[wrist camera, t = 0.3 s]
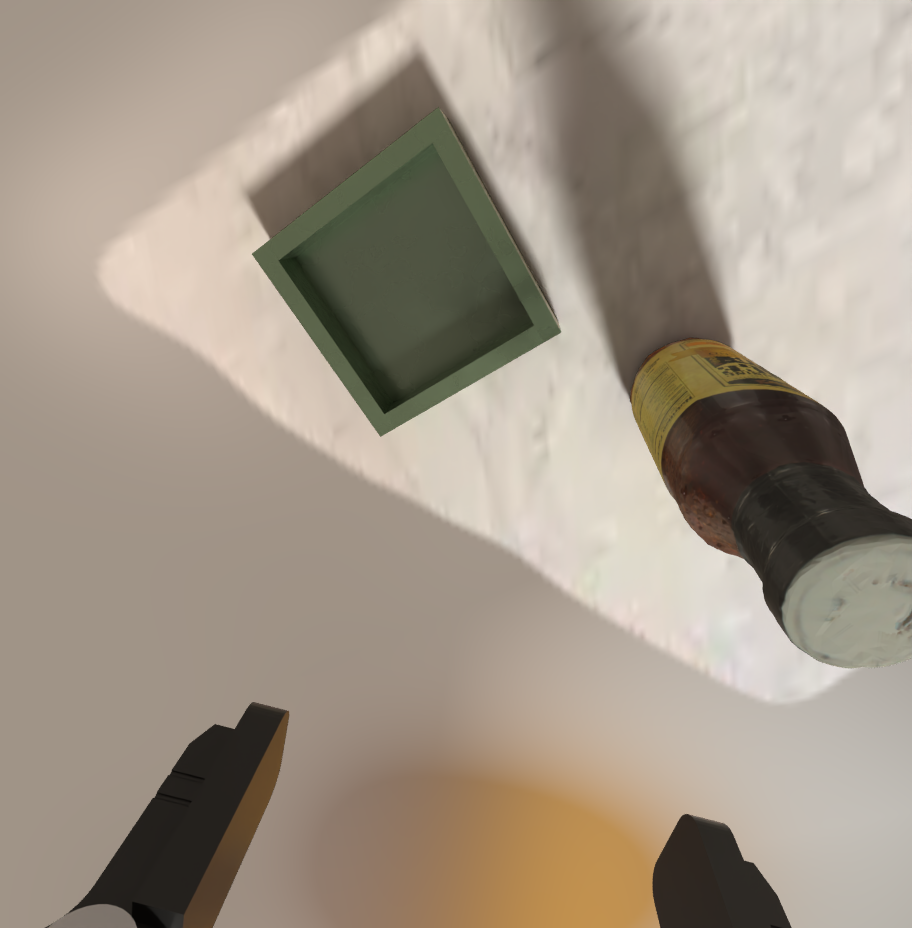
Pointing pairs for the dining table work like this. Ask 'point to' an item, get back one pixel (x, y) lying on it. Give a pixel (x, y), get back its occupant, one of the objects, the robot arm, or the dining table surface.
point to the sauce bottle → (780, 499)
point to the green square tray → (409, 278)
